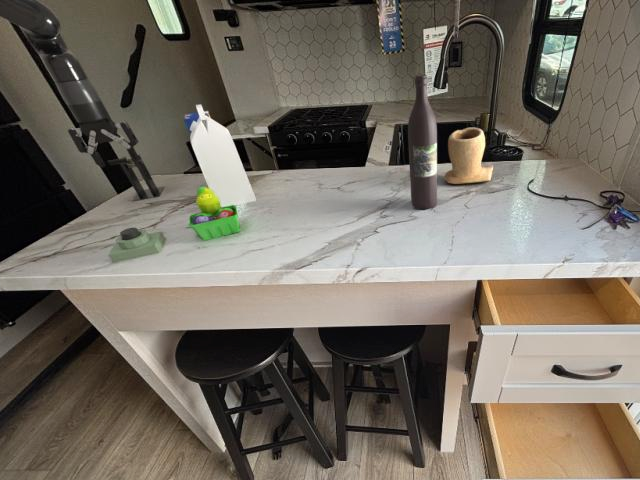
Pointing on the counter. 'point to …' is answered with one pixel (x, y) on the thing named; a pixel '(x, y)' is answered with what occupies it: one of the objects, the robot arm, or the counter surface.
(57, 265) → the counter surface
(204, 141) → the milk
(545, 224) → the counter surface
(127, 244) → the control block
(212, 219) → the fruit basket
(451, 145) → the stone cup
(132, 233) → the button
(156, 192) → the bracket
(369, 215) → the counter surface
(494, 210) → the counter surface
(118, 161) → the lever
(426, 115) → the wine bottle
